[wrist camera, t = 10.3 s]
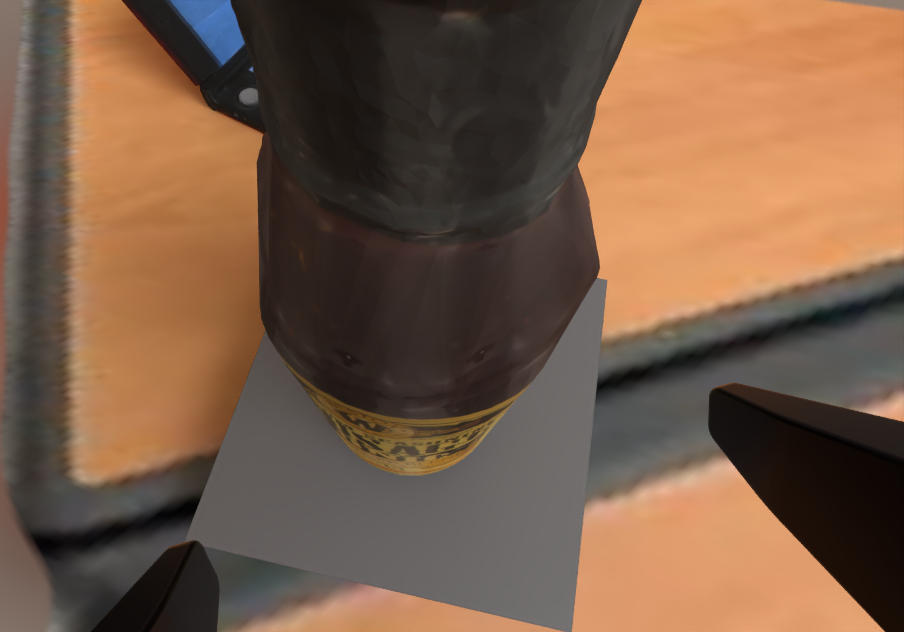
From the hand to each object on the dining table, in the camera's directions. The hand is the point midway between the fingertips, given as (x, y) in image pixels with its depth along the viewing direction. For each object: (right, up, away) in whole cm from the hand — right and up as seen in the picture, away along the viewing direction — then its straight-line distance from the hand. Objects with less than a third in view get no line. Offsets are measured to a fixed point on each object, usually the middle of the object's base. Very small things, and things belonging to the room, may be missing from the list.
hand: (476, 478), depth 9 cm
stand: (-2, -1, +14) cm, 14 cm away
